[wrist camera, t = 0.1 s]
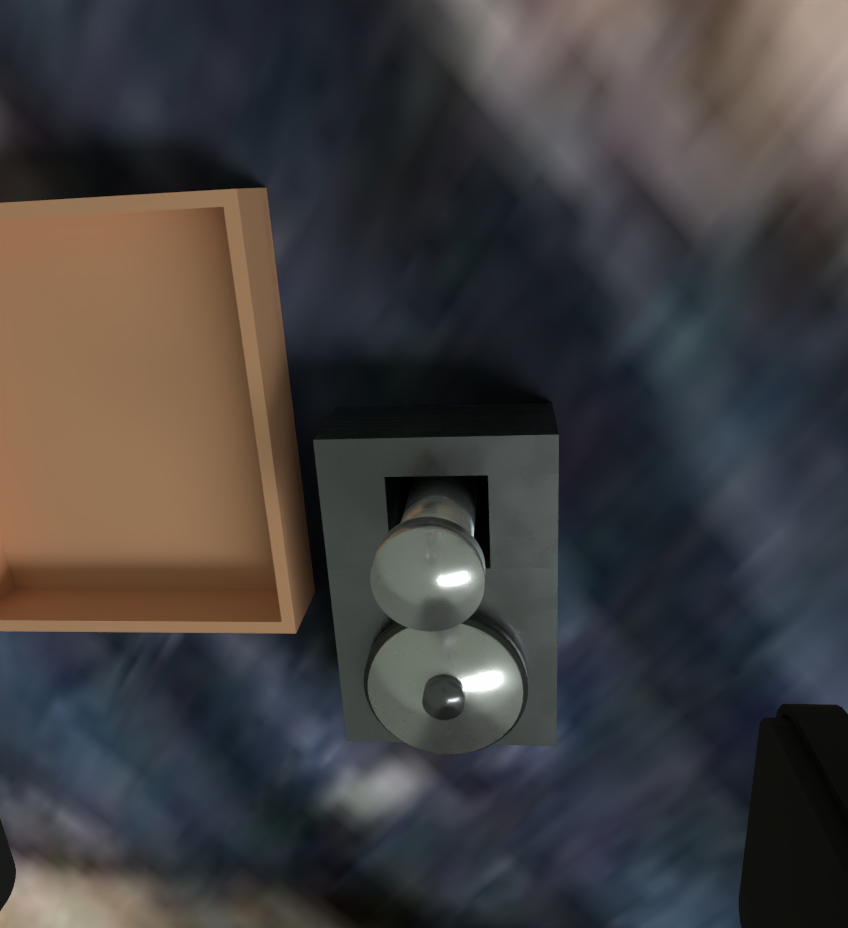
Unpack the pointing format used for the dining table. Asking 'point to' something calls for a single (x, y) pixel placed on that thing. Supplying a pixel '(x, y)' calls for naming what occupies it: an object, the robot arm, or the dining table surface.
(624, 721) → the dining table surface
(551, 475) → the pulley bracket
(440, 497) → the lock pin
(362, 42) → the dining table surface
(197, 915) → the dining table surface
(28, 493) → the tray
